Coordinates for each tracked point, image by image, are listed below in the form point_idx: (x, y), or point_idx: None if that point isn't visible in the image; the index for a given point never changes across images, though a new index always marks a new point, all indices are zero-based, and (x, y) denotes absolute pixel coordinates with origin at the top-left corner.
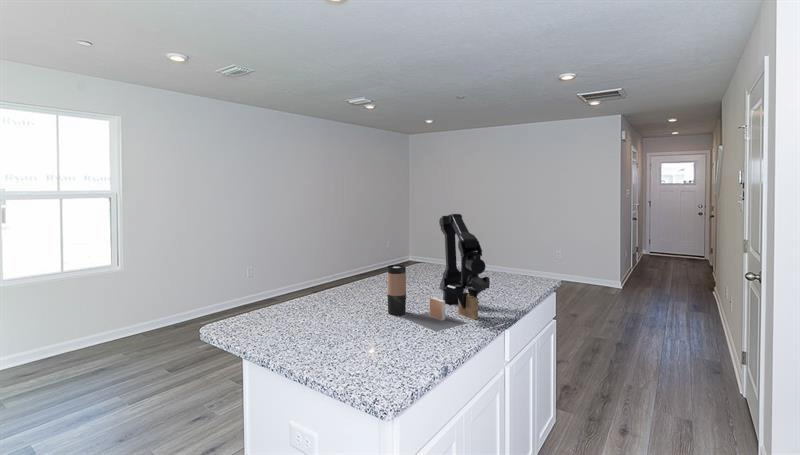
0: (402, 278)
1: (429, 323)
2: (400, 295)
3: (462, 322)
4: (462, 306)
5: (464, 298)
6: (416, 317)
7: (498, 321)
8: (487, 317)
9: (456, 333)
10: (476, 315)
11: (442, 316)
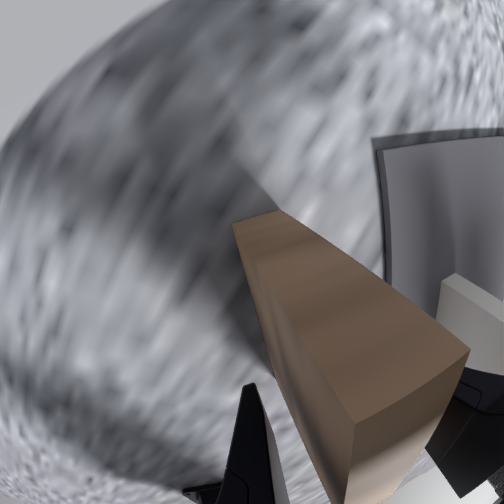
0: None
1: (498, 245)
2: None
3: (406, 183)
4: None
5: (485, 382)
6: None
7: (66, 119)
8: (103, 267)
9: (473, 67)
10: (266, 230)
11: (470, 283)
